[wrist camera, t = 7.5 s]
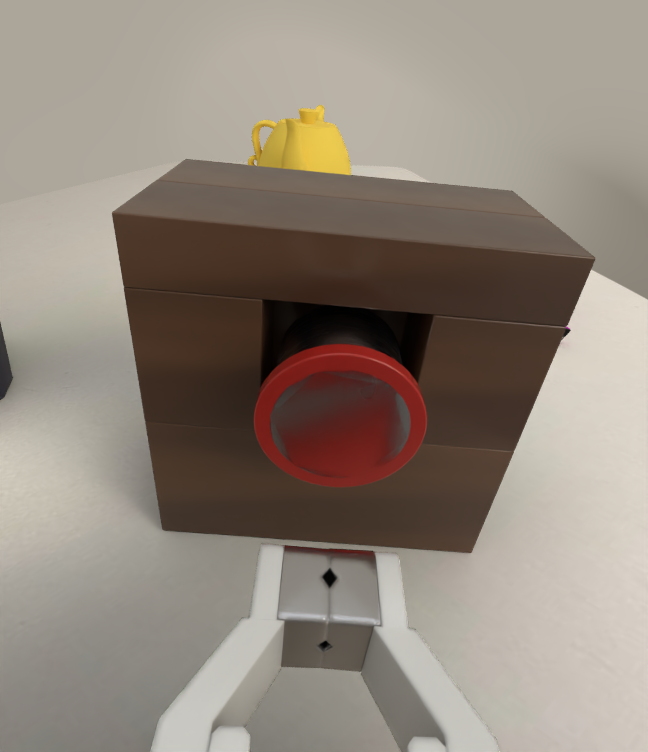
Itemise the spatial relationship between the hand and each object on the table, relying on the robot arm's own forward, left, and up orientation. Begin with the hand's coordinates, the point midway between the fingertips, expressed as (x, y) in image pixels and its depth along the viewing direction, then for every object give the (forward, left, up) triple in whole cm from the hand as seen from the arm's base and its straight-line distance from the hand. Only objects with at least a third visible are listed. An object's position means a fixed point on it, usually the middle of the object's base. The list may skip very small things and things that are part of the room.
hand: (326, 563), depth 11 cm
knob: (+6, -3, -3) cm, 7 cm away
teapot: (+63, -18, -9) cm, 67 cm away
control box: (+10, -4, -9) cm, 14 cm away
